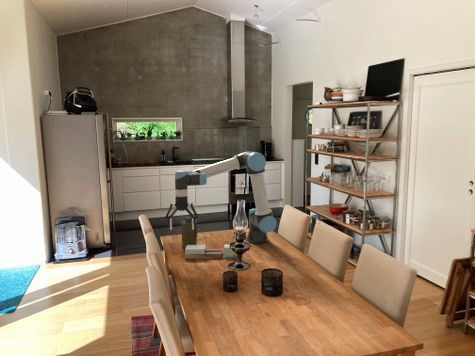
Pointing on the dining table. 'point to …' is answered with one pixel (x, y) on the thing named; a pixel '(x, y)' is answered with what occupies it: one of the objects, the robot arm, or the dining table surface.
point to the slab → (195, 249)
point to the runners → (206, 254)
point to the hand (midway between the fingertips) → (182, 229)
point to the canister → (188, 232)
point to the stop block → (228, 251)
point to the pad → (229, 257)
